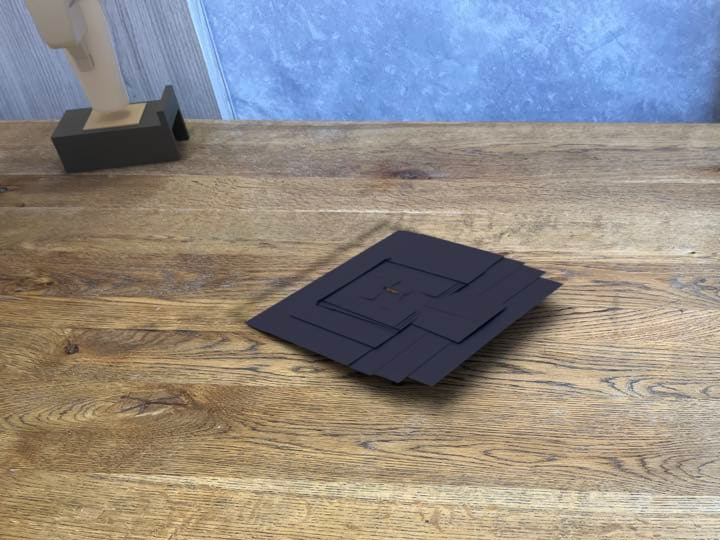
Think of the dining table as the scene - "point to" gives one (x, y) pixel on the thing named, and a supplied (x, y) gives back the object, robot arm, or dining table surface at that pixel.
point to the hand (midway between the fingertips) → (93, 60)
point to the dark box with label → (121, 135)
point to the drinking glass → (100, 63)
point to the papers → (408, 306)
